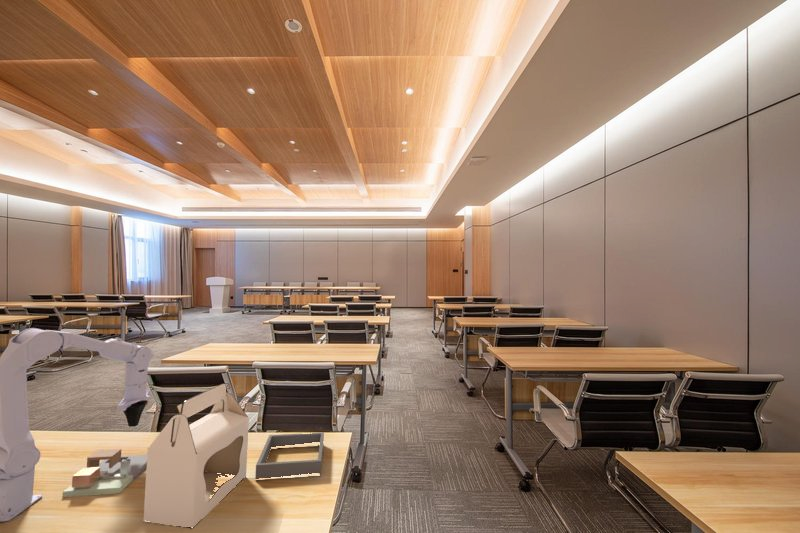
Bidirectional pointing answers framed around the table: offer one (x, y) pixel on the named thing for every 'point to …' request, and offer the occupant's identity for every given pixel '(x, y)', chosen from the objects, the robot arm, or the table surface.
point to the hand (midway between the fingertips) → (133, 425)
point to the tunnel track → (113, 466)
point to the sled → (97, 475)
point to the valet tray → (291, 466)
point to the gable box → (196, 459)
